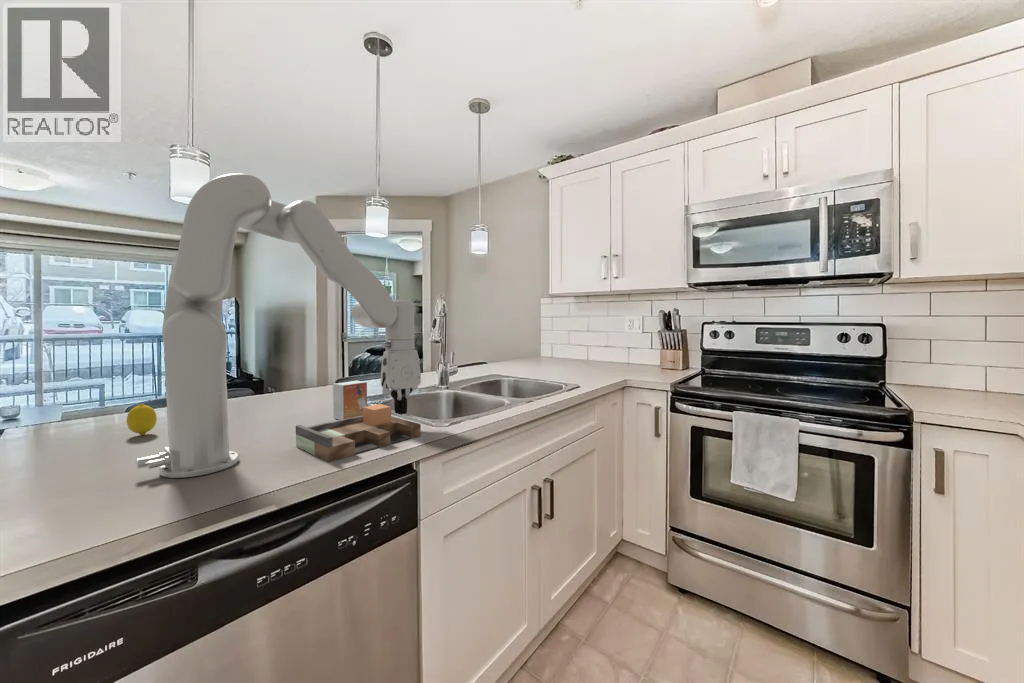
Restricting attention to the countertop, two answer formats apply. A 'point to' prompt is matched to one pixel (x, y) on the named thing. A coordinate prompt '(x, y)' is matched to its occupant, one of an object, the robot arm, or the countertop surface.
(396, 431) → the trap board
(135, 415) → the lemon
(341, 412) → the small box
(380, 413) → the block
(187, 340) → the robot arm
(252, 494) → the countertop surface
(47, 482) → the countertop surface
